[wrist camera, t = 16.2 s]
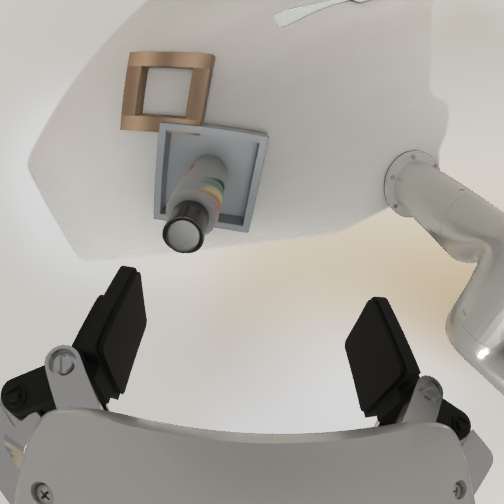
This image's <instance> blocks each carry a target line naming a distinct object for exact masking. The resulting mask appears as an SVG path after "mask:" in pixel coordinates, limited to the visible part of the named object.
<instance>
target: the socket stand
mask: <svg viewBox="0 0 504 504" xmlns="http://www.w3.org/2000/svg"><path fill="white" fill-rule="evenodd" d="M214 61H215V56H214V55H213V54H201V53H186V52H130V56H129V61H128V67H127V74H126V81H125V88H124V96H123V105H122V116H121V129H120V130H137V131H153V132H159V128H160V123H161V122H168V123H180V124H190V125H199V126H200V125H202V124H203V121H204V115H205V109H206V103H207V97H208V92H209V86H210V81H211V76H212V71H213V66H214ZM148 67H164V68H186V69H193V75H192V80H191V86H190V92H189V98H188V104H187V111H186V117H182V116H170V115H154V114H142V110H143V101H144V94H145V86H146V80H147V73H148ZM168 133H177V134H187V135H196V136H199V135H200V134H198V133H189V132H179V131H168Z"/></svg>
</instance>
